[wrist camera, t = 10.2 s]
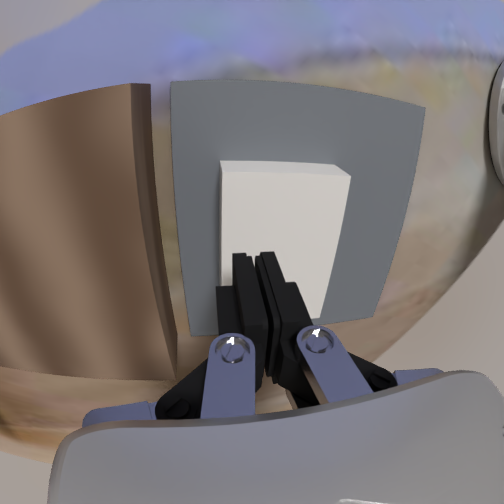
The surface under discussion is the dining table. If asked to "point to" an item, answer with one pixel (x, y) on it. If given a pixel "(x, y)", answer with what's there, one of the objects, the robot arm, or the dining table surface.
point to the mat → (293, 150)
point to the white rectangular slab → (283, 220)
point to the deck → (83, 240)
